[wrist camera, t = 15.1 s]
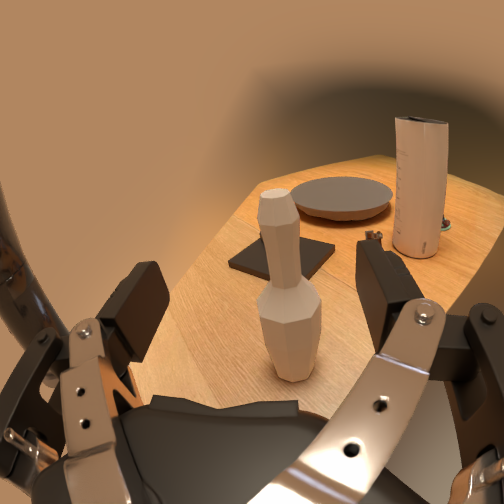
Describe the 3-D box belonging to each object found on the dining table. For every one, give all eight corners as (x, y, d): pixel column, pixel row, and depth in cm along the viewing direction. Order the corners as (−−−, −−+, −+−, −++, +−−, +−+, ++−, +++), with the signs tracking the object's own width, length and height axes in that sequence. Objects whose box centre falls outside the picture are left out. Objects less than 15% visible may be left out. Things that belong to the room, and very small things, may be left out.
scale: (229, 266, 55) (226, 253, 53) (272, 234, 63) (270, 223, 62) (298, 291, 45) (297, 276, 43) (336, 249, 53) (335, 236, 52)
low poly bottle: (274, 347, 35) (245, 184, 24) (321, 348, 34) (316, 179, 23) (265, 386, 30) (223, 211, 19) (318, 389, 28) (315, 206, 17)
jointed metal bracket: (377, 256, 47) (376, 232, 47) (366, 251, 55) (365, 230, 55) (386, 255, 47) (385, 231, 47) (374, 250, 55) (372, 229, 54)
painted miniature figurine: (435, 204, 59) (442, 196, 52) (449, 227, 57) (457, 222, 50) (413, 219, 62) (417, 213, 55) (426, 243, 60) (433, 240, 53)
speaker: (442, 260, 43) (456, 122, 30) (394, 258, 47) (398, 116, 34) (431, 235, 52) (438, 117, 39) (389, 233, 55) (389, 113, 43)
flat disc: (271, 210, 77) (268, 195, 74) (336, 184, 88) (335, 172, 86) (350, 241, 55) (350, 222, 53) (409, 204, 67) (409, 189, 64)
